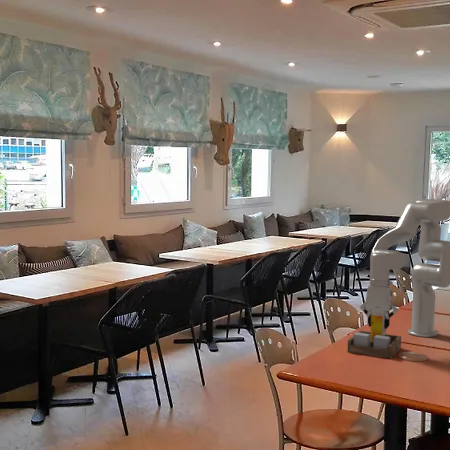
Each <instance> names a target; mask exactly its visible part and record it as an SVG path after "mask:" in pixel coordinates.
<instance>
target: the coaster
mask: <svg viewBox="0 0 450 450" xmlns="http://www.w3.org/2000/svg"><path fill="white" fill-rule="evenodd" d="M397 357H398V358H399V359H401V360H404V361H408V362H417V363H419V362H426V361H428V360H429V358H428V357H429V356H428V355H426V354H424V353H421V352H416V351H402V352H398V354H397Z"/></svg>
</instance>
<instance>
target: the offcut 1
mask: <svg viewBox="0 0 450 450" xmlns="http://www.w3.org/2000/svg"><path fill="white" fill-rule="evenodd" d="M358 332H359V331H358ZM358 332H357V331H356V332H355V333H354V334H353V336H354V345H358V346H365V347H370V334H366V333H358Z"/></svg>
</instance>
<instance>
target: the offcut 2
mask: <svg viewBox="0 0 450 450" xmlns="http://www.w3.org/2000/svg"><path fill="white" fill-rule="evenodd" d="M390 338H391V337H388V336H380V335H376V336H375V337H374V348H379V349H385V350H388V346H389V345H390Z"/></svg>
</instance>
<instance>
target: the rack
mask: <svg viewBox="0 0 450 450" xmlns="http://www.w3.org/2000/svg"><path fill="white" fill-rule="evenodd" d="M370 332H371V331H366V330H359V331H358V333H366V334H370ZM386 336H388V337H391V338H390V345H389V346H388V350H385V349H379V348H374V342H372V341H371V340H370V347H365V346H358V345H354V335H352V336H351V337H350V338H348V339H347V353H353V354H358V355H365V356H370V357H377V358H383V359H389V360H390V359H392V358H393V357H394V356H395V355H396V354H397V353H399V350H401V347H402V336H401V335H396V334H387V333H386Z"/></svg>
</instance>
